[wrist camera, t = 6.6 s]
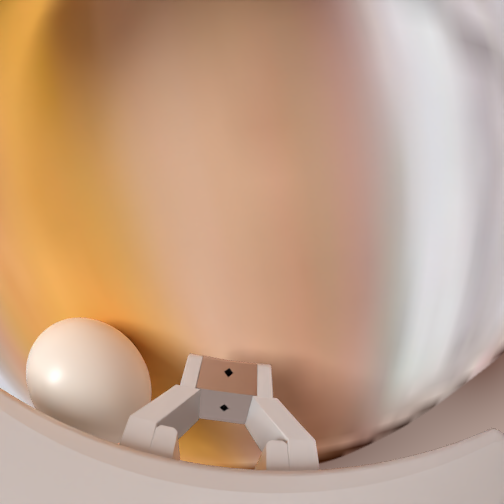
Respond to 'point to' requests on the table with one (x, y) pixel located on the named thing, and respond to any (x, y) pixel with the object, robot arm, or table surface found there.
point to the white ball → (87, 377)
